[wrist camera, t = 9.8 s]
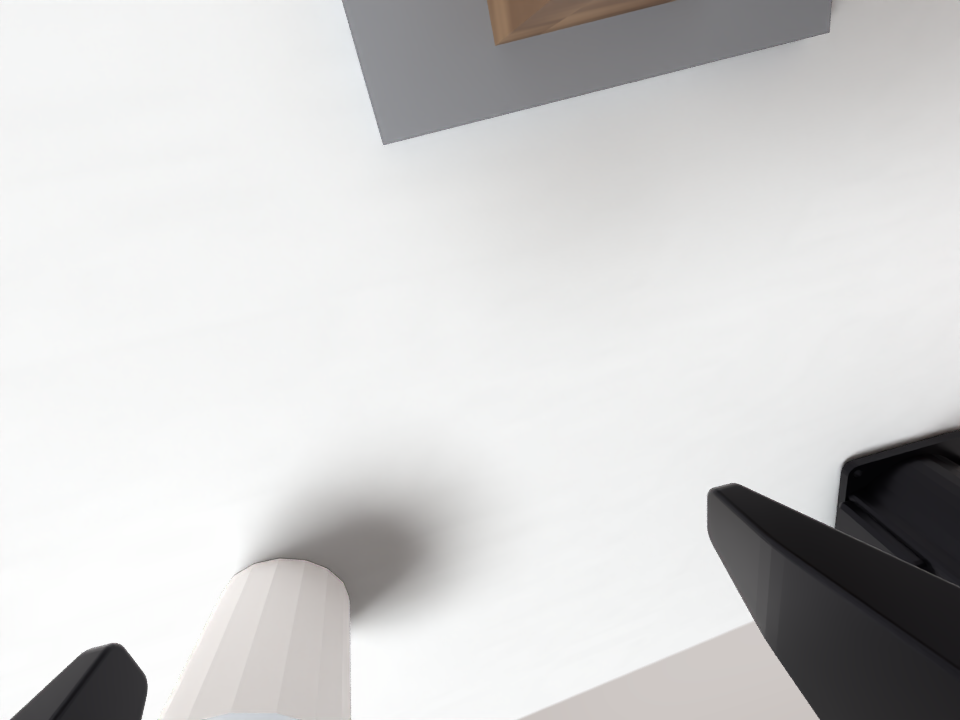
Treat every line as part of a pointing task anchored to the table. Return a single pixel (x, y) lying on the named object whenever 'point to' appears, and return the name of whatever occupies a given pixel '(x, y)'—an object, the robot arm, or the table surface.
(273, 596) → the white cylinder
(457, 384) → the table surface
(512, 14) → the hollow wooden cube
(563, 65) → the switch plate
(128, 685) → the robot arm
